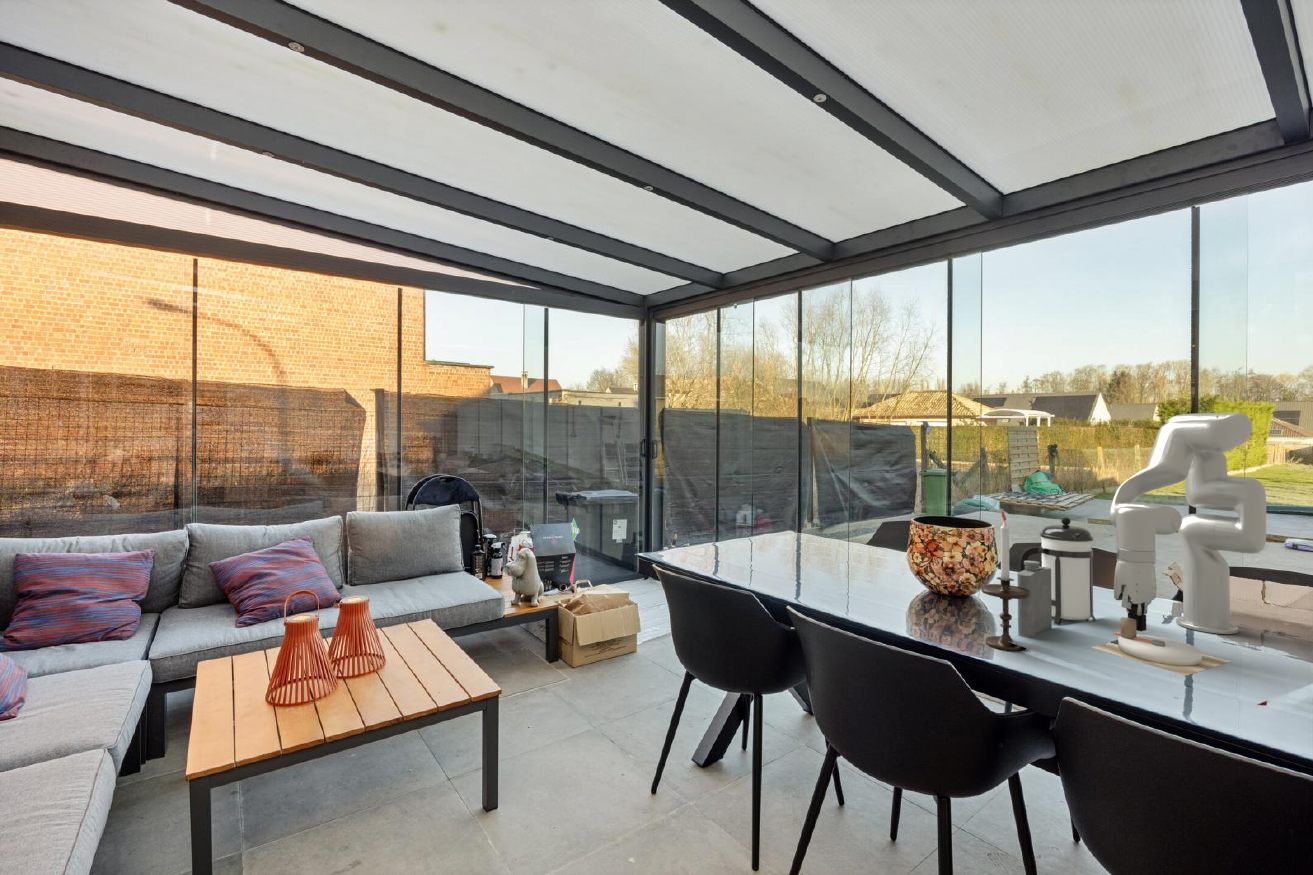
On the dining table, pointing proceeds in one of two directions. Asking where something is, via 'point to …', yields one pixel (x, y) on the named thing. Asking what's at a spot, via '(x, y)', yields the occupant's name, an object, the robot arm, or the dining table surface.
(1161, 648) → the cream oval with knob
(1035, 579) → the hip flask
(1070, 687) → the dining table surface
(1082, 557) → the coffee press
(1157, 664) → the dial base
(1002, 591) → the candlestick
